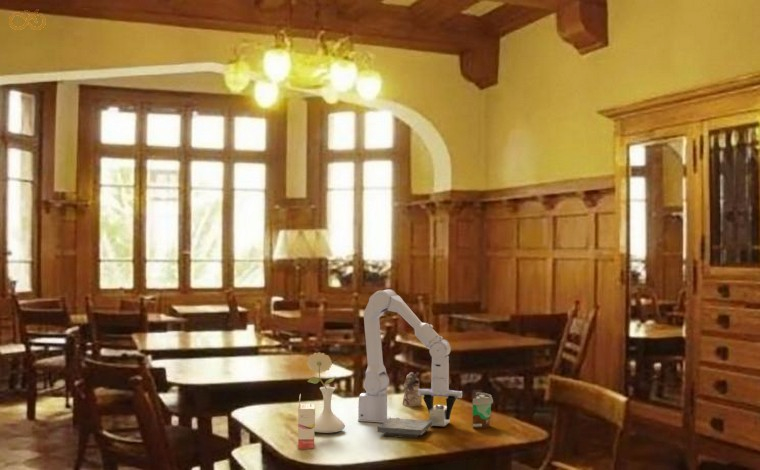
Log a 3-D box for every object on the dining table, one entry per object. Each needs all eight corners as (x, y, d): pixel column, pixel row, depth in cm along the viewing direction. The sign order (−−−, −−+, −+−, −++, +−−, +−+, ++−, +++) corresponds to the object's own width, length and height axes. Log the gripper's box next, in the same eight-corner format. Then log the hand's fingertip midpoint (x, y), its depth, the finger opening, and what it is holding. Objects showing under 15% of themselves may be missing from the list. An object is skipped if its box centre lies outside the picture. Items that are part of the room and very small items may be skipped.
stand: (377, 436, 261) (377, 427, 262) (389, 427, 275) (389, 417, 275) (421, 440, 258) (421, 430, 258) (431, 430, 271) (431, 420, 271)
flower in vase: (350, 429, 272) (350, 351, 272) (337, 437, 261) (337, 355, 261) (313, 426, 276) (313, 349, 276) (298, 433, 265) (299, 353, 265)
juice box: (315, 449, 246) (315, 398, 246) (297, 449, 245) (298, 398, 245) (314, 442, 254) (315, 393, 254) (298, 442, 254) (298, 393, 254)
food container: (491, 430, 271) (491, 399, 271) (472, 429, 272) (472, 398, 272) (494, 422, 283) (494, 392, 283) (475, 421, 284) (476, 391, 284)
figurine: (401, 403, 316) (401, 370, 316) (420, 402, 317) (420, 370, 317) (403, 406, 309) (404, 373, 309) (423, 406, 310) (423, 373, 310)
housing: (428, 425, 275) (429, 407, 275) (434, 419, 284) (435, 402, 284) (444, 426, 273) (444, 408, 273) (450, 420, 282) (450, 403, 282)
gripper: (415, 377, 277) (415, 419, 277) (459, 380, 273) (459, 422, 273) (420, 374, 284) (420, 415, 283) (463, 376, 280) (463, 418, 279)
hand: (439, 418), depth 279 cm, fingers closed on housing, 5 cm apart
